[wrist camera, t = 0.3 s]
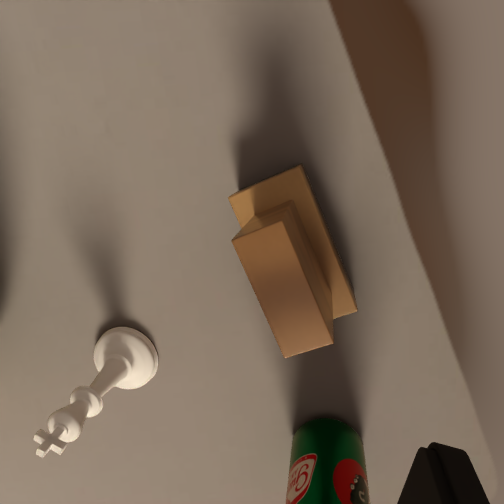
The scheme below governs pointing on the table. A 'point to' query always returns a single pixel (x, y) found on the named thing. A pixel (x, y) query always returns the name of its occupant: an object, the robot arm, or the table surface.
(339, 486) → the soda can
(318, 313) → the wooden inverted t block
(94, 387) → the chess piece
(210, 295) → the table surface
